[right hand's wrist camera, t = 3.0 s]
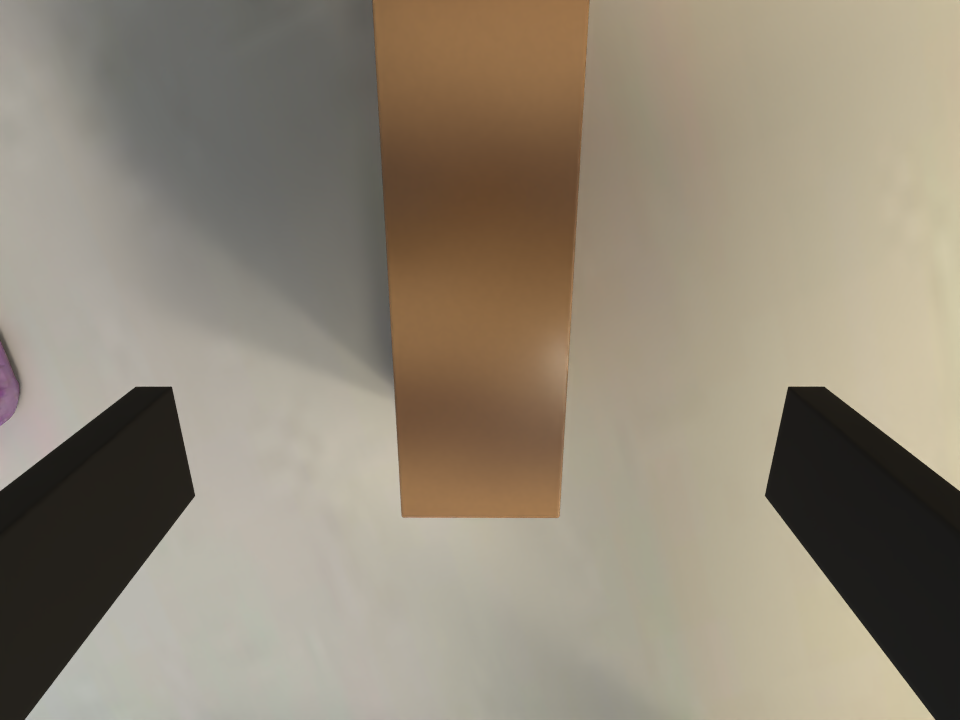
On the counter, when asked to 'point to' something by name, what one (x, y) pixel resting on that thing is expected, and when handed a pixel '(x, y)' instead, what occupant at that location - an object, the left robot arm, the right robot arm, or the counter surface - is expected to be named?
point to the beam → (480, 245)
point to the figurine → (7, 388)
